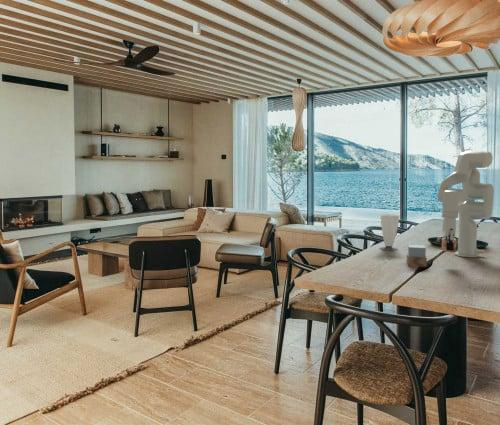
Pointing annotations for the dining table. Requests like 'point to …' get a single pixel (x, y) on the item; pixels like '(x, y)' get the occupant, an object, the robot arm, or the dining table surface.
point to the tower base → (416, 261)
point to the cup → (389, 230)
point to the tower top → (417, 251)
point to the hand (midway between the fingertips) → (448, 248)
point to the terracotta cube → (444, 245)
